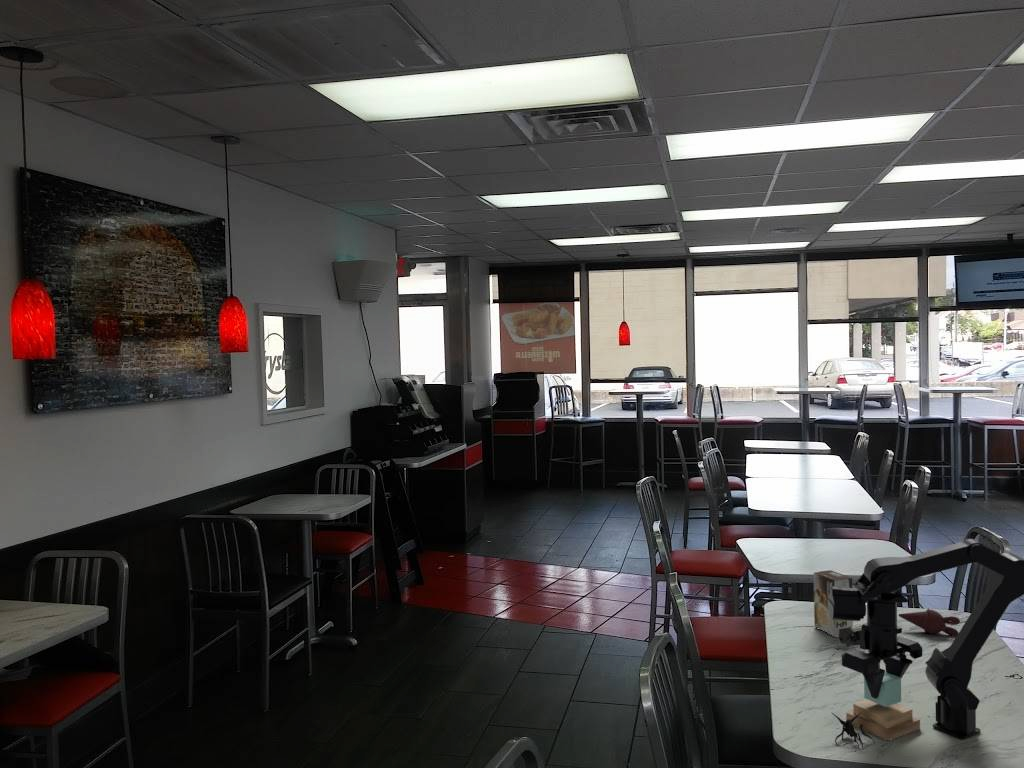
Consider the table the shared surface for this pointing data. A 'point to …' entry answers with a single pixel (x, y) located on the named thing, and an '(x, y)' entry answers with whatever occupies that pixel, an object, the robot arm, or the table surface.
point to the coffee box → (821, 596)
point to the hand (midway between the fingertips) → (882, 694)
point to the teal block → (886, 691)
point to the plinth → (884, 730)
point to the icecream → (932, 621)
